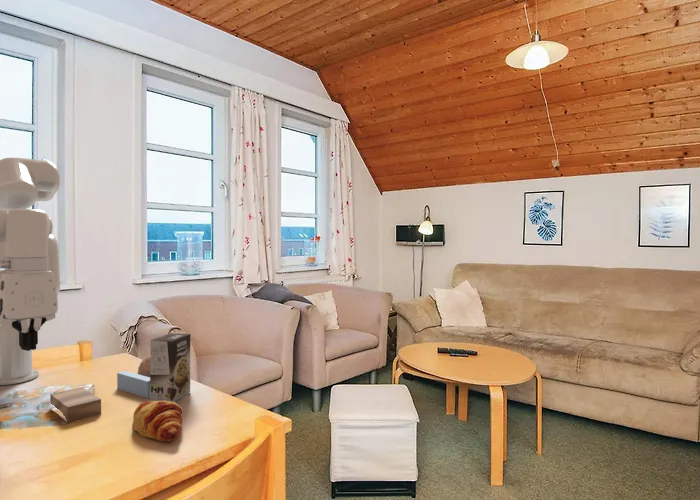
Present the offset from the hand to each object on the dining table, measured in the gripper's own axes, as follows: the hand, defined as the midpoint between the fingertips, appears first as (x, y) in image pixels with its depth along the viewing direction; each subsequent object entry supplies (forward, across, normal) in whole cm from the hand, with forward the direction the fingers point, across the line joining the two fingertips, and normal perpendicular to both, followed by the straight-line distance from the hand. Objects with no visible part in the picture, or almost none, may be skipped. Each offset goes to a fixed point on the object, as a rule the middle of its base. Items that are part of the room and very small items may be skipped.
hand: (28, 349), depth 101 cm
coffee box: (+18, +29, -10) cm, 35 cm away
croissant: (+18, +15, -24) cm, 33 cm away
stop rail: (+17, +26, 0) cm, 31 cm away
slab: (+18, +10, 0) cm, 20 cm away
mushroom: (+17, +33, +3) cm, 37 cm away
